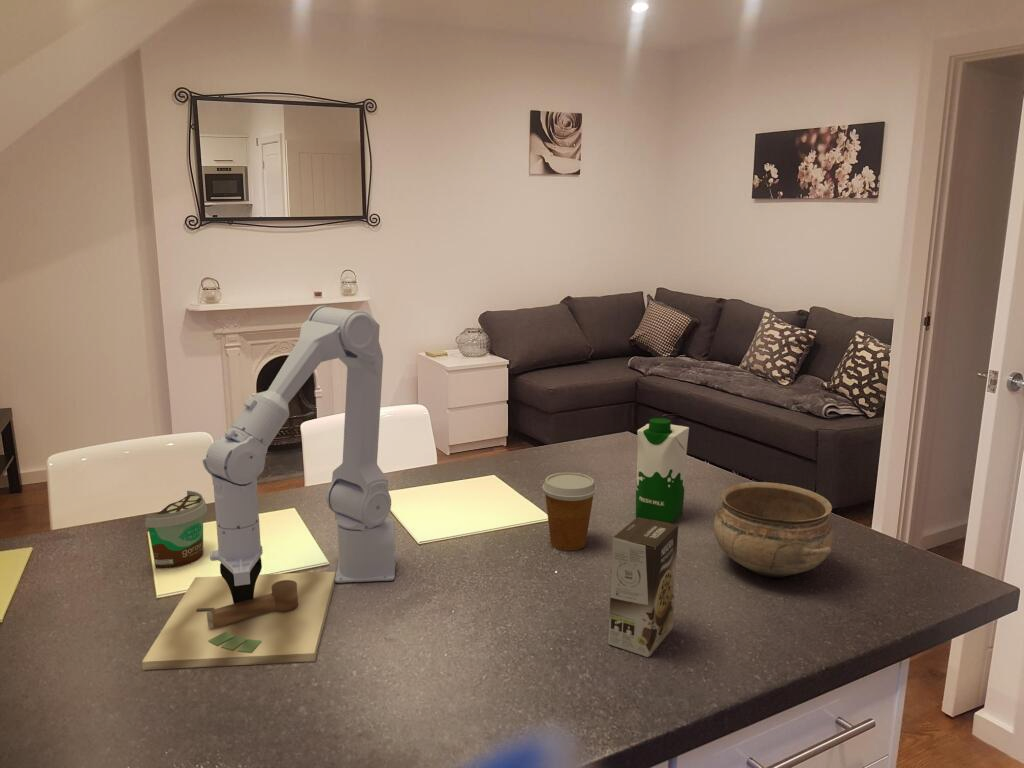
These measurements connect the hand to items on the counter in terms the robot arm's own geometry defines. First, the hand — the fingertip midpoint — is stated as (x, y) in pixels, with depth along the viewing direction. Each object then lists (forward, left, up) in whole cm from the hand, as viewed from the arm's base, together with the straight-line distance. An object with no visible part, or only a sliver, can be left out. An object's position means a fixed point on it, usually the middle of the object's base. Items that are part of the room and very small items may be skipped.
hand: (243, 609), depth 114 cm
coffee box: (-57, +9, -2) cm, 57 cm away
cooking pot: (-84, -10, -2) cm, 84 cm away
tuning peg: (-1, +1, -1) cm, 2 cm away
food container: (+14, -23, -2) cm, 27 cm away
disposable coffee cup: (-52, -23, -2) cm, 56 cm away
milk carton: (-72, -34, -2) cm, 79 cm away
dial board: (-1, -1, -2) cm, 2 cm away
